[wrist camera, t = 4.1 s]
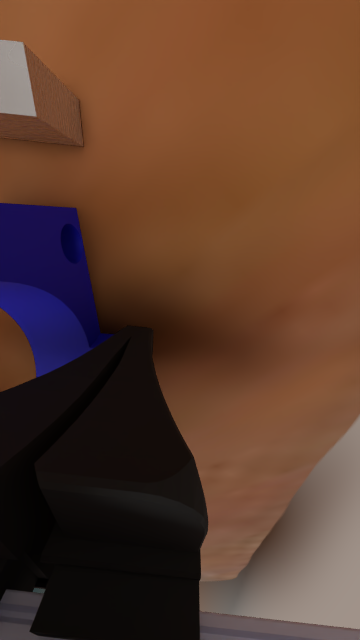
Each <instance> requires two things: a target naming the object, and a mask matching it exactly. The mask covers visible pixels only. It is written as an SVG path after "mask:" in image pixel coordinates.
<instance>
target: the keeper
mask: <svg viewBox="0 0 360 640" xmlns="http://www.w3.org/2000/svg"><path fill="white" fill-rule="evenodd" d="M0 138H8V139H18V140H27V141H36V142H46V143H55V144H64V145H74V146H83V137H82V128H81V118H80V109H79V99H78V98H77V97H76V96H75V95H74V94H73V93H72V92H71V91H70V90H69V89H68V88H67V87H66V86H65V85H64V84H63V83H62V82H61V81H60V80H59V79H58V78H57V77H56V76H55V75H54V74H53V73H52V72H51V71H50V69H49V68H48V67H47V66H46V65H45V64H44V63H43V62H42V61H41V60H40V59H39V58H38V57H37V56H36V55H35V54H34V53H33V52H32V51H31V50H30V49H29V48H28V47H27V46H26V45H25V44H24V43H23V42H16V41H7V40H0ZM83 147H84V146H83Z"/></svg>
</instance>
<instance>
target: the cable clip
mask: <svg viewBox="0 0 360 640" xmlns="http://www.w3.org/2000/svg"><path fill="white" fill-rule="evenodd" d="M0 308H2V309H3V310H4V311H6V312H7V313H8V314H9V315H10V316H11V317H12V318H13V319H14V320H15V321H16V322H17V323H18V325H19V326H20V327H21V329H22V330H23V332H24V333H25V335H26V337H27V339H28V341H29V343H30V345H31V348H32V351H33V355H34V359H35V364H36V378H37V377H39V376H42V375H44V374H46V373H49V372H51V371H53V370H55V369H57V368H59V367H61V366H63V365H65V364H67V363H69V362H71V361H73V360H74V359H76V358H78V357H80V356H81V355H83V354H85V353H86V352H88V351H90V350H91V349H93V348H95V347H96V346H98V345H99V344H101V343H102V342H104V341H105V340H107V339H108V338H110V337H111V336H113V335H114V334H102V333H100V328H99V323H98V318H97V313H96V307H95V302H94V297H93V292H92V287H91V282H90V277H89V271H88V266H87V261H86V256H85V251H84V246H83V241H82V235H81V230H80V225H79V220H78V215H77V210H76V208H68V207H53V206H38V205H23V204H8V203H0Z"/></svg>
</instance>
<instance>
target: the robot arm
mask: <svg viewBox="0 0 360 640" xmlns="http://www.w3.org/2000/svg"><path fill="white" fill-rule="evenodd" d="M152 354H153V330H152V328H146V327H137V326H128V325H127V326H126V327H124V328H123V329H121V330H120V331H118V332H117V333H116V334H114V335H113V336H111V337H110V338H108V339H107V340H105V341H104V342H102V343H101V344H99V345H98V346H96V347H95V348H93V349H91V350H90V351H88V352H86V353H85V354H83V355H81V356H80V357H78V358H76V359H74V360H73V361H71V362H69V363H67V364H65V365H63V366H61V367H59V368H57V369H55V370H53V371H51V372H49V373H46V374H44V375H42V376H39V377H37V378H35V379H32V380H30V381H28V382H25V383H23V384H21V385H18V386H16V387H13V388H10V389H8V390H5V391H2V392H0V640H360V629H351V628H343V627H333V626H324V625H316V624H306V623H298V622H290V621H281V620H272V619H263V618H254V617H246V616H236V615H228V614H219V613H211V612H202V611H200V610H199V581H200V579H201V559H200V548H201V546H202V543H203V541H204V539H205V536H206V534H207V532H208V515H207V508H206V502H205V497H204V493H203V489H202V485H201V481H200V477H199V474H198V470H197V467H196V464H195V460H194V457H193V455H192V453H191V451H190V450H189V448H188V446H187V444H186V443H185V441H184V439H183V437H182V435H181V433H180V431H179V429H178V427H177V425H176V423H175V421H174V419H173V417H172V415H171V413H170V411H169V408H168V406H167V404H166V401H165V399H164V397H163V394H162V391H161V388H160V385H159V382H158V379H157V376H156V372H155V368H154V363H153V358H152ZM34 588H41V589H46V590H45V592H44V593H35V592H33V589H34Z"/></svg>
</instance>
